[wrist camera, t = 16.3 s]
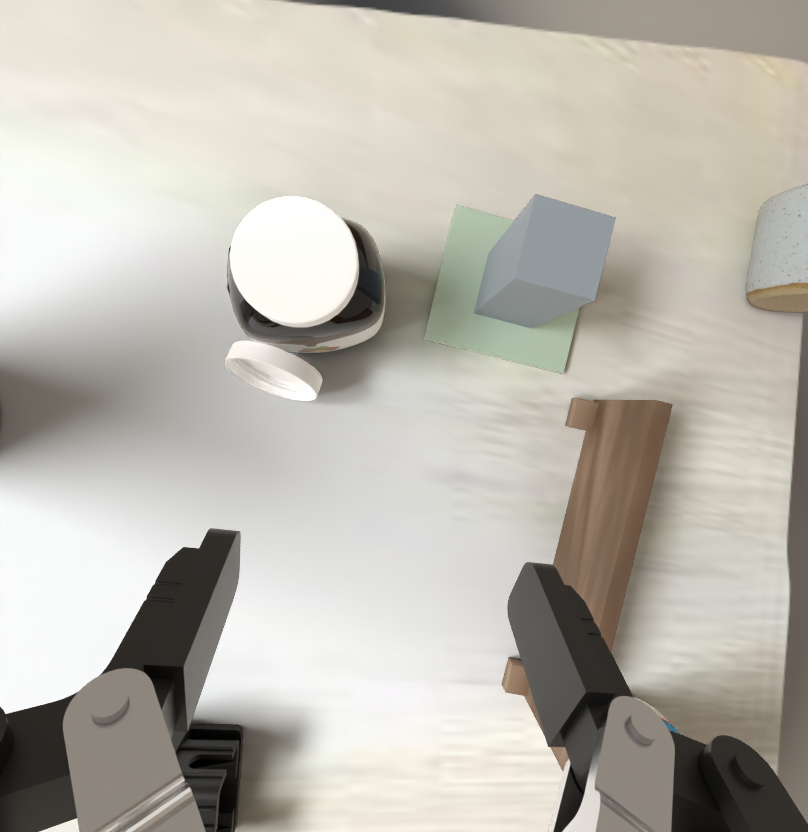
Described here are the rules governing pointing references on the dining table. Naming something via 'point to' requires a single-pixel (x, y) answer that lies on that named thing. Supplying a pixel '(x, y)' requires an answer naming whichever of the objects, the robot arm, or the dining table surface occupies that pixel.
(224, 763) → the end cap
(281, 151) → the dining table surface
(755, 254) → the ceramic mug
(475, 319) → the sage mat
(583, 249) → the slate block
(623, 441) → the walnut screen
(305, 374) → the spread jar
